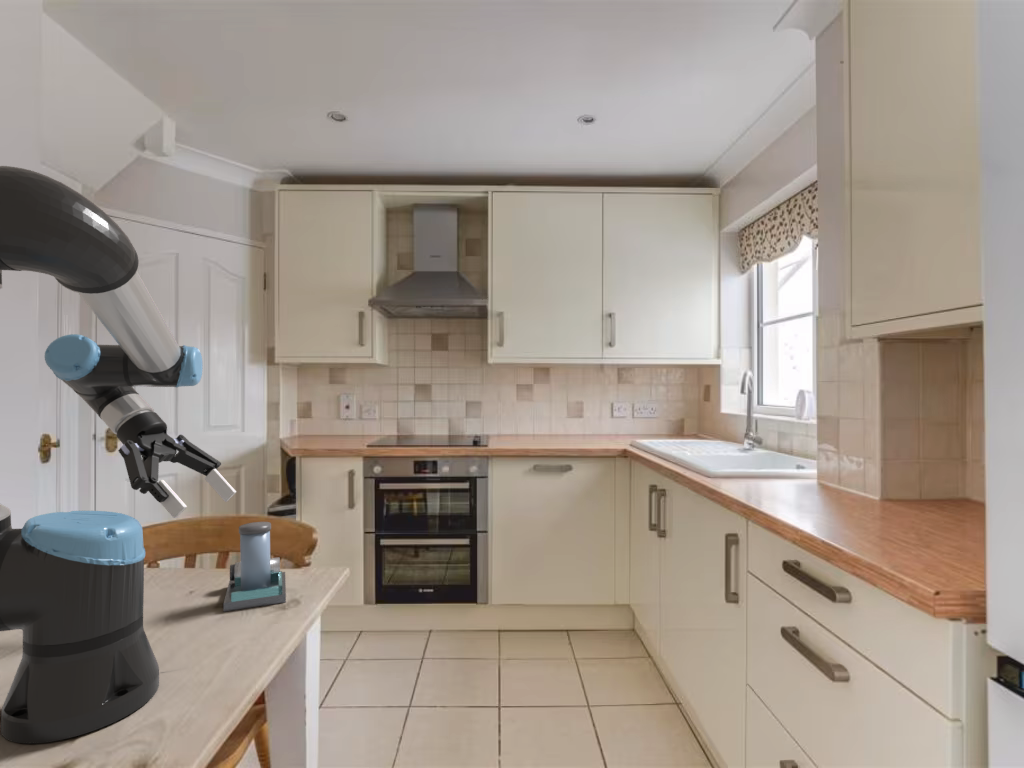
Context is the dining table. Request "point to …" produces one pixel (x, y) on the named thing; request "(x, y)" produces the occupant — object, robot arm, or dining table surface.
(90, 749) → the dining table surface
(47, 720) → the robot arm
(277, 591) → the motor mount
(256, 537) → the ball
